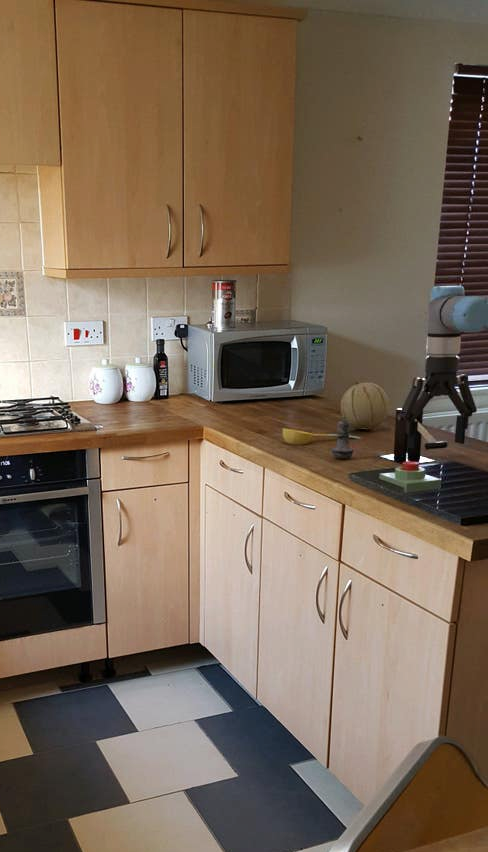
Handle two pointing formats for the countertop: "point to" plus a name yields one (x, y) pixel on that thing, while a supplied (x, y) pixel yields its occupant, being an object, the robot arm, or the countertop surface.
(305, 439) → the ladle
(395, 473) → the control block
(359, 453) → the countertop surface
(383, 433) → the countertop surface
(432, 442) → the lever
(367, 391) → the cantaloupe
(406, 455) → the bracket
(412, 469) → the button
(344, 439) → the grey chess piece
